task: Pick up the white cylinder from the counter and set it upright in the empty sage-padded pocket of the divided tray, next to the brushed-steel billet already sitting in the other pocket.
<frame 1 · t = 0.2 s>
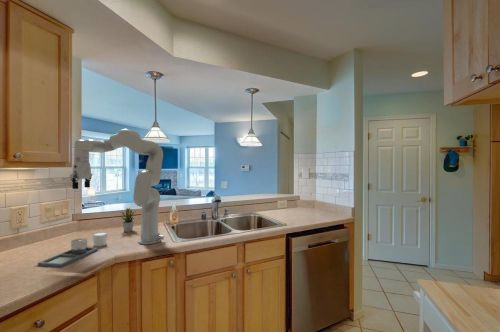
hand: (81, 188, 156), 31 cm above the worktop, tool pointing down, fingers open, 9 cm apart
divided tray: (70, 259, 121), on the worktop
house plant: (126, 230, 175), on the worktop
billet: (79, 253, 126), point 1 cm above the worktop, touching divided tray
white cylinder: (100, 246, 140), on the worktop
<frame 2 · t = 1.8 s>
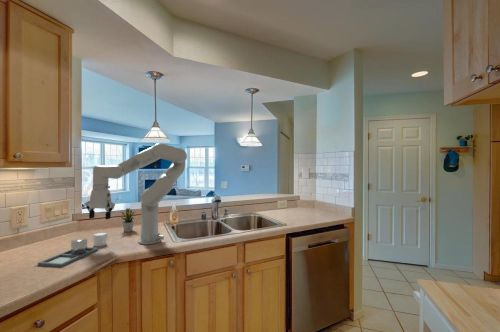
hand: (99, 218, 140), 16 cm above the worktop, tool pointing down, fingers open, 9 cm apart
nothing on the worktop moved.
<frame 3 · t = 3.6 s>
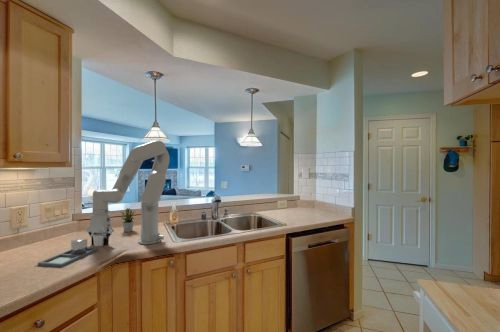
hand: (100, 244, 140), 1 cm above the worktop, tool pointing down, fingers closed on white cylinder, 6 cm apart
white cylinder: (100, 246, 140), on the worktop, touching gripper
everything else where it was.
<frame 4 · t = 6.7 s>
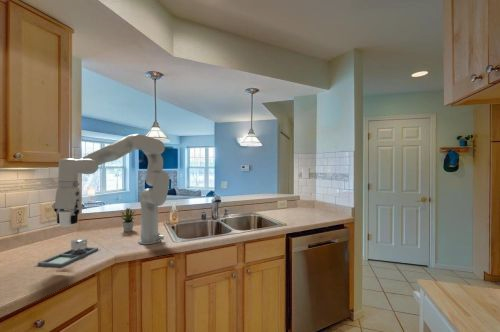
hand: (67, 222, 119), 18 cm above the worktop, tool pointing down, fingers closed on white cylinder, 6 cm apart
white cylinder: (67, 225, 119), point 17 cm above the worktop, touching gripper
everything else where it was.
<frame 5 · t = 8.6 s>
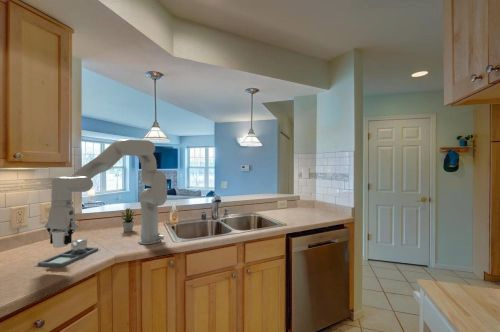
hand: (60, 242, 115), 10 cm above the worktop, tool pointing down, fingers closed on white cylinder, 6 cm apart
white cylinder: (60, 246, 115), point 8 cm above the worktop, touching gripper
everything else where it was.
when the fingers open (4 cm above the worktop, at t = 10.2 s): white cylinder drops 1 cm, resting on divided tray.
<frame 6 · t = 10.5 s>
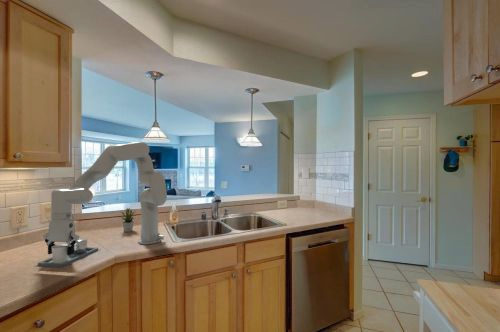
hand: (61, 253, 115), 5 cm above the worktop, tool pointing down, fingers open, 9 cm apart
white cylinder: (60, 261, 116), point 1 cm above the worktop, touching divided tray
everything else where it was.
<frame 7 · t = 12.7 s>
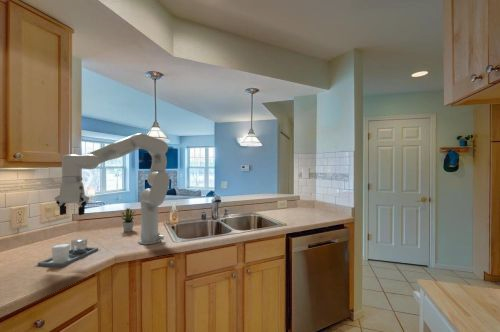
hand: (72, 214, 125), 21 cm above the worktop, tool pointing down, fingers open, 9 cm apart
nothing on the worktop moved.
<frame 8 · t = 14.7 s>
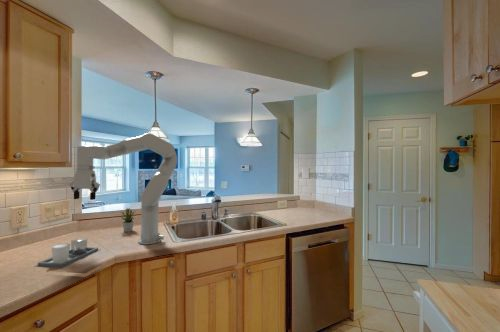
hand: (84, 199, 139), 26 cm above the worktop, tool pointing down, fingers open, 9 cm apart
nothing on the worktop moved.
at the end: white cylinder 0.2 cm from the target spot on the divided tray, point 1.2 cm above the divided tray's base; white cylinder tilted 0°; the gripper is holding nothing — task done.
